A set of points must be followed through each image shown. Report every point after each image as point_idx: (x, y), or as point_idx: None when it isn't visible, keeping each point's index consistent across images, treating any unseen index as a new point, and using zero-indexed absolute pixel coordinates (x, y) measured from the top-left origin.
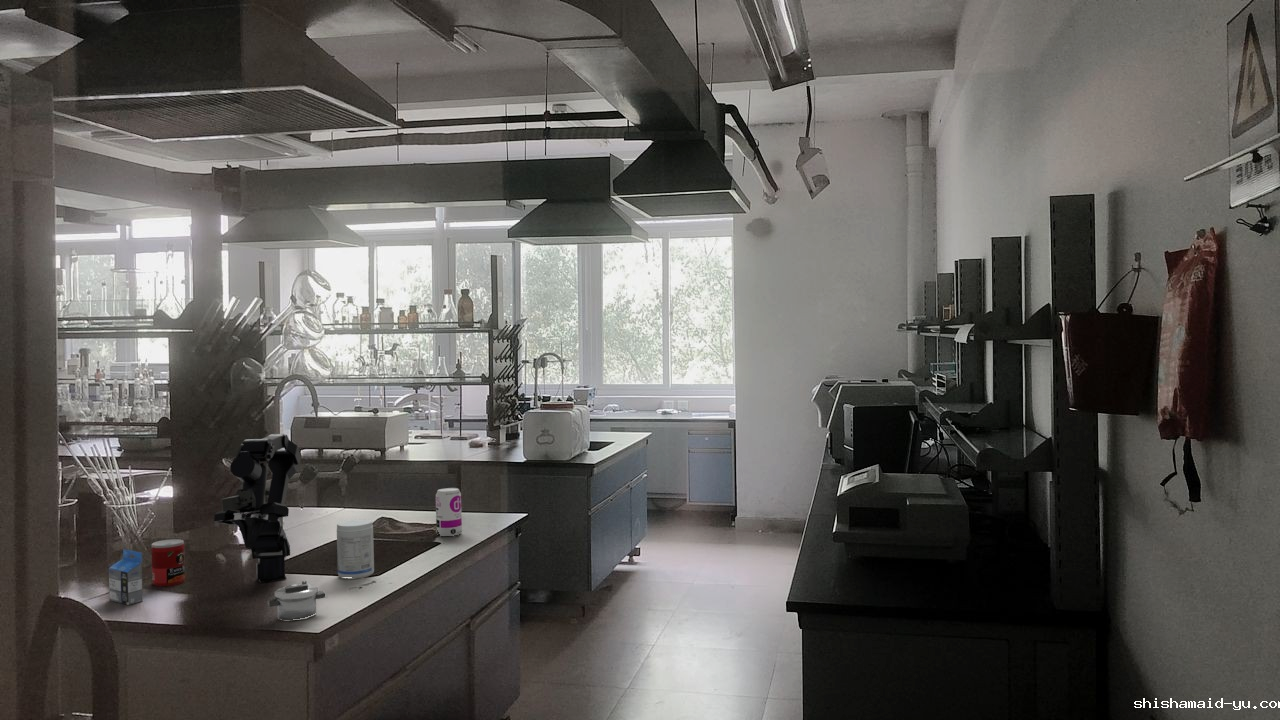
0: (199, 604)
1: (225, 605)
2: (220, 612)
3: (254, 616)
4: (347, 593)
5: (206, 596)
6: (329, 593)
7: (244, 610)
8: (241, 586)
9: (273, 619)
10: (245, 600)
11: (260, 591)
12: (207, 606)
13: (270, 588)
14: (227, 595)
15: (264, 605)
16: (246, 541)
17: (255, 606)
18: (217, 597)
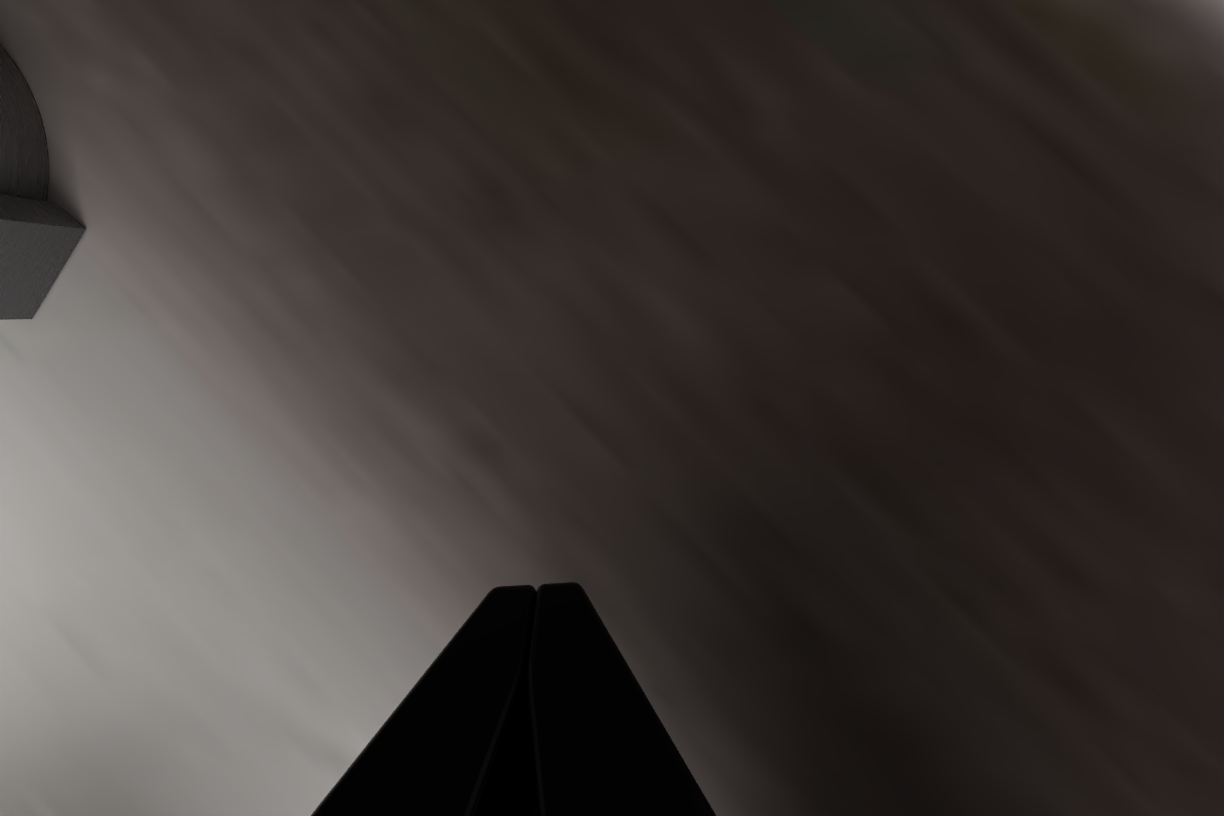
0: (1051, 141)
1: (742, 199)
2: (608, 5)
3: (218, 23)
4: (5, 757)
5: (1214, 392)
6: (131, 731)
7: (437, 132)
8: (1104, 772)
9: (13, 15)
10: (675, 387)
11: (761, 663)
12: (903, 114)
13: (741, 765)
14: (999, 477)
15: (382, 309)
16: (528, 685)
17: (436, 261)
18: (1053, 394)
